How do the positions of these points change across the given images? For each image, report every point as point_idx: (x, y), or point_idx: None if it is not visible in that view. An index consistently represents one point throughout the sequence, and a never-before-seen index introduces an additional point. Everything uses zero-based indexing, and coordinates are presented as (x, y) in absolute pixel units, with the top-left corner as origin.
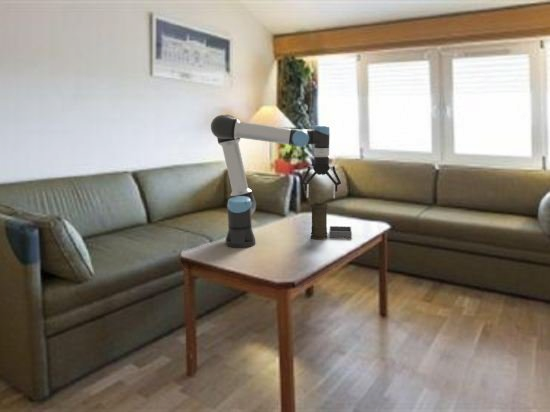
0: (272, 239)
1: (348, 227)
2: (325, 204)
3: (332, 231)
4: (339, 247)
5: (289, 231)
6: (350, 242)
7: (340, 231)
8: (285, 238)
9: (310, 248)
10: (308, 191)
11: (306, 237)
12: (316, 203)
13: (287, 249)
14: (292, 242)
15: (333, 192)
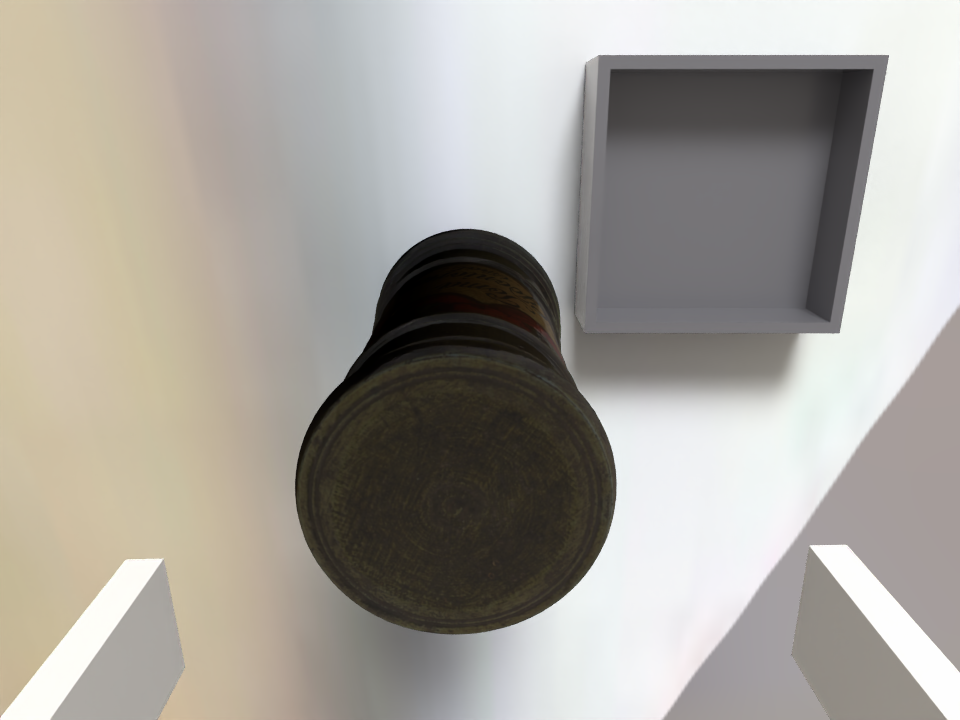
0: (13, 413)
1: (847, 68)
2: (581, 518)
3: (620, 331)
4: (652, 598)
5: (85, 51)
6: (769, 451)
7: (713, 324)
8: (129, 367)
9: (414, 639)
10: (93, 707)
11: (335, 311)
12: (390, 423)
13: (236, 675)
14: (231, 493)
15: (879, 647)
